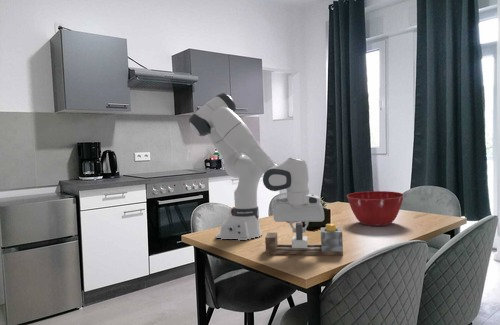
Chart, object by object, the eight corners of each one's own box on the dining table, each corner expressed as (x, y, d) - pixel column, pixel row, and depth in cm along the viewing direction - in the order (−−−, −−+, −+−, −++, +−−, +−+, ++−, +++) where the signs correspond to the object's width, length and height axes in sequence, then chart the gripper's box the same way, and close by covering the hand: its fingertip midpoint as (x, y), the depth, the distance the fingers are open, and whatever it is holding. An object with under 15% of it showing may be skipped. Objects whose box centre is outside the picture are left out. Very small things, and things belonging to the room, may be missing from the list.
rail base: (266, 254, 143) (264, 232, 143) (268, 249, 151) (267, 227, 151) (343, 255, 138) (342, 232, 138) (341, 249, 146) (340, 227, 145)
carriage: (292, 248, 142) (291, 225, 141) (292, 243, 149) (292, 221, 148) (307, 248, 141) (306, 225, 140) (307, 243, 148) (306, 221, 147)
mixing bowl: (357, 231, 174) (356, 199, 173) (341, 219, 202) (340, 192, 202) (415, 228, 175) (414, 196, 174) (390, 216, 203) (389, 189, 202)
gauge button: (326, 237, 141) (325, 225, 141) (326, 234, 145) (325, 223, 144) (336, 237, 140) (336, 225, 140) (336, 234, 144) (335, 223, 144)
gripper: (271, 199, 142) (272, 234, 143) (323, 199, 139) (325, 234, 139) (273, 197, 149) (274, 230, 149) (323, 196, 145) (324, 230, 145)
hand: (299, 232), depth 144 cm, fingers closed on carriage, 2 cm apart
